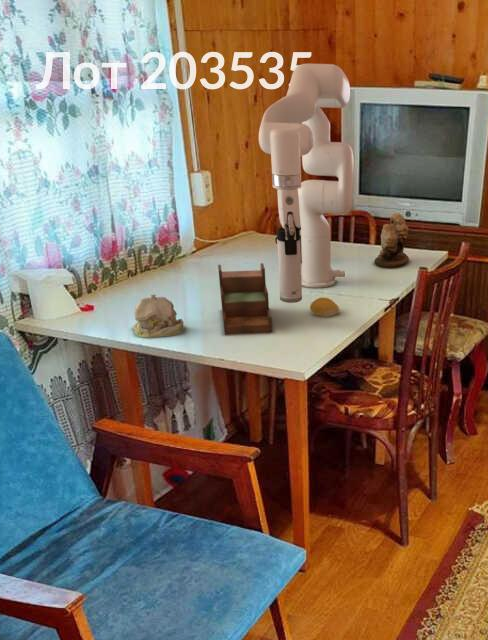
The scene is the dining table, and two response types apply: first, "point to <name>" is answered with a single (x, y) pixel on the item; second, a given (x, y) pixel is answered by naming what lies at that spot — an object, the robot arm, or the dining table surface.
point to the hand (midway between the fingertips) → (289, 250)
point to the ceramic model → (156, 318)
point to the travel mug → (289, 269)
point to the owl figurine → (393, 243)
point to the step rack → (244, 301)
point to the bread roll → (324, 307)
